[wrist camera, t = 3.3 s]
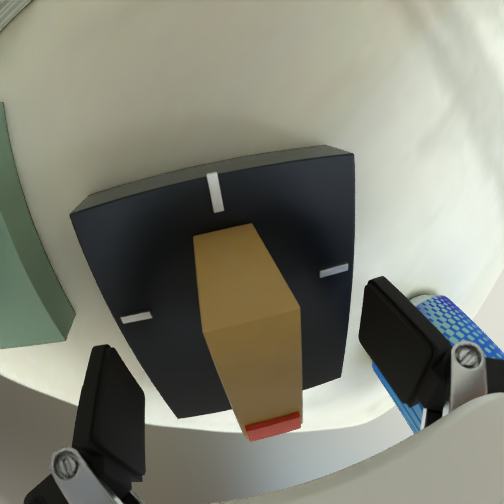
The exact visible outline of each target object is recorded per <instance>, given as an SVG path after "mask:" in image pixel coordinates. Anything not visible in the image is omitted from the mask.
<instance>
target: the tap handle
mask: <svg viewBox="0 0 504 504" xmlns="http://www.w3.org/2000/svg"><path fill="white" fill-rule="evenodd" d="M193 242H194V254H195V266H196V277H197V287H198V297H199V306H200V315H201V324H202V332H203V334H204V337H205V340H206V343H207V345H208V348H209V351H210V354H211V356H212V359H213V362H214V364H215V367H216V369H217V372H218V375H219V377H220V380H221V382H222V385H223V387H224V390H225V392H226V395H227V397H228V400H229V402H230V404H231V407H232V409H233V411H234V414H235V416H236V419H237V421H238V423H239V425H240V428H241V430H242V432H243V434H244V437H245V438H249V440H250V441H255V440H259V439H263V438H267V437H271V436H275V435H278V434H282V433H286V432H289V431H292V430H296V429H299V428H301V424H302V422H303V399H302V345H301V317H300V306H299V304H298V303H297V301H296V299H295V297H294V296H293V294H292V292H291V290H290V289H289V287H288V285H287V283H286V282H285V280H284V278H283V276H282V275H281V273H280V271H279V269H278V268H277V266H276V264H275V262H274V261H273V259H272V257H271V255H270V254H269V252H268V250H267V249H266V247H265V245H264V243H263V242H262V240H261V238H260V237H259V235H258V233H257V231H256V230H255V228H254V226H253V225H252V223H250V224H245V225H241V226H236V227H232V228H227V229H223V230H218V231H214V232H209V233H205V234H201V235H196V236H194V237H193Z"/></svg>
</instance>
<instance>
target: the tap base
mask: <svg viewBox="0 0 504 504" xmlns="http://www.w3.org/2000/svg"><path fill="white" fill-rule="evenodd" d="M70 219H71V222H72V224H73V227H74V230H75V232H76V235H77V238H78V240H79V243H80V245H81V248H82V250H83V253H84V255H85V258H86V260H87V262H88V265H89V267H90V269H91V272H92V274H93V276H94V278H95V280H96V283H97V285H98V287H99V289H100V291H101V293H102V295H103V297H104V299H105V301H106V303H107V305H108V307H109V309H110V311H111V313H112V315H113V317H114V319H115V321H116V323H117V324H118V326H119V328H120V330H121V332H122V334H123V335H124V337H125V339H126V341H127V342H128V344H129V346H130V348H131V349H132V351H133V353H134V354H135V356H136V358H137V359H138V361H139V363H140V364H141V366H142V367H143V369H144V370H145V372H146V374H147V375H148V377H149V378H150V380H151V381H152V383H153V384H154V386H155V387H156V389H157V390H158V392H159V393H160V395H161V396H162V397H163V399H164V400H165V402H166V403H167V405H168V406H169V407H170V409H171V410H172V411H173V413H174V414H175V416H176V417H177V418H178V419H180V418H187V417H193V416H199V415H205V414H211V413H216V412H221V411H226V410H231V409H232V407H231V404H230V402H229V400H228V397H227V395H226V392H225V390H224V387H223V385H222V382H221V380H220V377H219V375H218V372H217V369H216V367H215V364H214V362H213V359H212V356H211V354H210V351H209V348H208V345H207V343H206V340H205V337H204V334H203V332H202V324H201V315H200V306H199V297H198V287H197V277H196V266H195V254H194V242H193V237H194V236H196V235H201V234H205V233H209V232H214V231H218V230H223V229H227V228H232V227H236V226H241V225H245V224H250V223H252V225H253V226H254V228H255V230H256V231H257V233H258V235H259V237H260V238H261V240H262V242H263V243H264V245H265V247H266V249H267V250H268V252H269V254H270V255H271V257H272V259H273V261H274V262H275V264H276V266H277V268H278V269H279V271H280V273H281V275H282V276H283V278H284V280H285V282H286V283H287V285H288V287H289V289H290V290H291V292H292V294H293V296H294V297H295V299H296V301H297V303H298V304H299V306H300V317H301V345H302V390H306V389H309V388H312V387H315V386H318V385H321V384H323V383H326V382H329V381H332V380H335V379H337V378H340V377H341V374H342V367H343V361H344V354H345V347H346V339H347V331H348V322H349V313H350V302H351V291H352V278H353V262H354V239H355V163H354V154H353V153H350V152H347V151H344V150H341V149H337V148H334V147H331V146H327V145H322V146H313V147H304V148H297V149H289V150H282V151H275V152H269V153H262V154H256V155H250V156H245V157H239V158H234V159H228V160H223V161H218V162H213V163H208V164H204V165H199V166H195V167H190V168H186V169H181V170H177V171H173V172H169V173H165V174H161V175H157V176H153V177H149V178H146V179H142V180H138V181H135V182H131V183H128V184H124V185H121V186H117V187H114V188H111V189H107V190H104V191H101V192H98V193H95V194H92V195H89V196H88V197H87V198H86V199H85V200H84V201H83V202H82V203H80V204H79V205H78V206H77V207H76V208H75V209H74V210H73V211H72V212H71V213H70Z"/></svg>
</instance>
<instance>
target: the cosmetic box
mask: <svg viewBox="0 0 504 504" xmlns="http://www.w3.org/2000/svg"><path fill="white" fill-rule="evenodd" d="M31 1H32V0H0V31H1V30H2V29H3V28H4V26H5V25H6V24H7V23H8V22H9V21H10V20H11V19H12V18H13V17H14V16H15V15H17V14H18V13H19V12H20V11H21V10H22V9H23V8H24V7H25V6H26V5H27V4H28V3H29V2H31Z"/></svg>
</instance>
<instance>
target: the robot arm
mask: <svg viewBox="0 0 504 504" xmlns="http://www.w3.org/2000/svg"><path fill="white" fill-rule="evenodd" d="M359 341H360V343H361V345H362V346H363V347H364V349H365V350H366V352H367V353H368V355H369V356H370V357H371V359H372V360H373V362H374V363H375V365H376V366H377V367H378V369H379V370H380V372H381V373H382V375H383V376H384V378H385V379H386V380H387V382H388V383H389V385H390V386H391V388H392V389H393V391H394V392H395V394H396V395H397V397H398V398H399V400H400V401H401V402H402V403H403V404H407V405H408V407H409V408H411V407H413V406H415V405H417V404H418V403H421V405H422V406H423V407H424V408H423V415H422V422H421V427H420V431H419V432H417V433H416V434H414V435H413V436H410V437H409V438H407V439H405V440H403V441H401V442H400V443H398V444H396V445H394V446H392V447H390V448H388V449H386V450H384V451H382V452H380V453H378V454H376V455H374V456H372V457H370V458H368V459H366V460H363V461H361V462H359V463H356V464H354V465H352V466H349V467H347V468H345V469H342V470H340V471H337V472H334V473H332V474H329V475H326V476H324V477H321V478H318V479H315V480H312V481H309V482H306V483H303V484H299V485H296V486H293V487H289V488H286V489H282V490H278V491H275V492H270V493H266V494H262V495H257V496H253V497H247V498H243V499H237V500H231V501H225V502H219V503H210V504H504V360H503V359H496V358H489V357H485V355H484V352H483V350H482V349H481V348H480V347H479V346H478V345H477V344H475V343H473V342H470V341H461V342H458V343H457V344H455V345H454V346H452V345H451V344H450V343H451V342H450V341H449V340H448V339H447V338H446V337H445V336H444V335H443V334H442V333H441V332H440V331H439V330H438V329H437V328H436V327H435V326H434V325H433V324H432V323H431V322H430V321H429V320H428V319H427V318H426V317H425V316H424V315H423V314H422V313H421V312H420V311H419V310H418V309H417V308H416V307H415V306H414V305H413V304H412V303H411V302H410V301H409V300H408V299H407V298H406V297H405V296H404V295H403V294H402V293H401V292H400V291H399V290H398V289H397V288H396V287H395V286H394V285H393V284H392V283H391V282H389V281H388V280H387V279H386V278H385V277H384V276H381V277H378V278H375V279H371V280H369V281H368V284H367V285H366V286H365V288H364V297H363V306H362V314H361V322H360V329H359ZM144 427H145V396H144V392H143V390H142V389H141V387H140V386H139V384H138V383H137V382H136V380H135V379H134V377H133V376H132V374H131V373H130V371H129V370H128V368H127V367H126V365H125V364H124V362H123V361H122V359H121V357H120V356H119V354H118V353H117V351H116V349H115V348H111V347H110V346H109V345H108V344H106V345H100V346H94V347H93V348H92V351H91V355H90V359H89V363H88V367H87V371H86V376H85V380H84V384H83V387H82V390H81V395H80V400H79V405H78V410H77V416H76V422H75V428H74V435H73V442H72V447H61V448H59V449H57V450H56V451H55V452H54V453H53V455H52V457H51V459H50V471H51V474H50V475H49V476H48V477H46V478H45V479H44V480H43V481H42V482H41V483H40V484H38V485H37V486H36V487H35V488H34V489H33V490H32V491H30V492H29V493H28V494H27V496H26V497H25V499H24V504H145V503H144V502H143V501H142V500H141V499H140V498H139V497H138V496H137V495H136V494H135V493H134V492H133V491H132V485H131V482H142V475H145V472H146V469H145V431H144V430H145V428H144Z"/></svg>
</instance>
